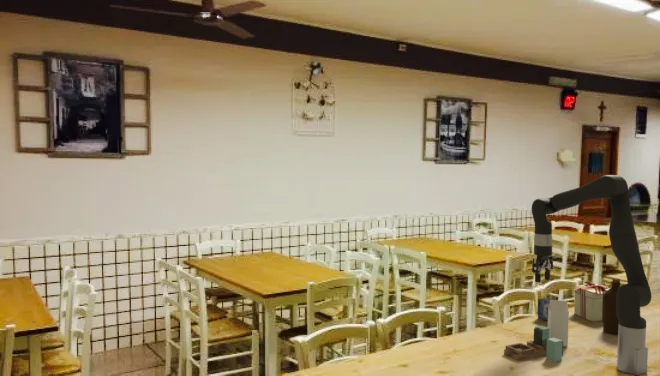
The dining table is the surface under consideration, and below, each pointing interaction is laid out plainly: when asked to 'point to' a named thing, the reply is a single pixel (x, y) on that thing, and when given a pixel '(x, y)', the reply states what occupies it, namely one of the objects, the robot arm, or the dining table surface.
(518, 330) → the dining table surface
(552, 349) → the teal rectangular block
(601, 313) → the gift box
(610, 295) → the olive oil
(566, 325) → the milk carton
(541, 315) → the small box
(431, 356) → the dining table surface
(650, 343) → the dining table surface
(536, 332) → the walnut rail
